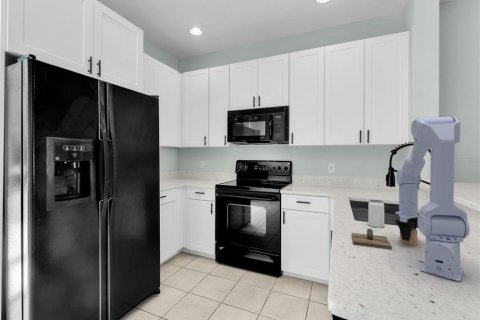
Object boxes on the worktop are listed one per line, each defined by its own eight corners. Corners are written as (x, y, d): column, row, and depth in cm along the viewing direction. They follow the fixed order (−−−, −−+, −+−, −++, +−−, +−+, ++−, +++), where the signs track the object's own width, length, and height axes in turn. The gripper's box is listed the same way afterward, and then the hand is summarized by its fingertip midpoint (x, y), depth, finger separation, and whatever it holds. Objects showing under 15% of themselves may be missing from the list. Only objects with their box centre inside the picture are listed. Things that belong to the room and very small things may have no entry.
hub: (415, 246, 82) (415, 232, 83) (398, 242, 86) (398, 229, 86) (418, 242, 86) (418, 229, 86) (402, 239, 90) (402, 226, 90)
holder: (391, 249, 79) (391, 235, 79) (353, 244, 84) (353, 230, 84) (385, 239, 90) (385, 226, 90) (351, 235, 95) (351, 223, 95)
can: (376, 228, 105) (376, 202, 105) (365, 224, 111) (365, 200, 111) (387, 227, 106) (387, 201, 107) (376, 223, 113) (375, 199, 113)
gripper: (400, 198, 94) (401, 231, 94) (390, 202, 85) (390, 239, 84) (422, 200, 89) (422, 235, 89) (413, 205, 79) (413, 244, 79)
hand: (408, 237), depth 86 cm, fingers open, 7 cm apart
